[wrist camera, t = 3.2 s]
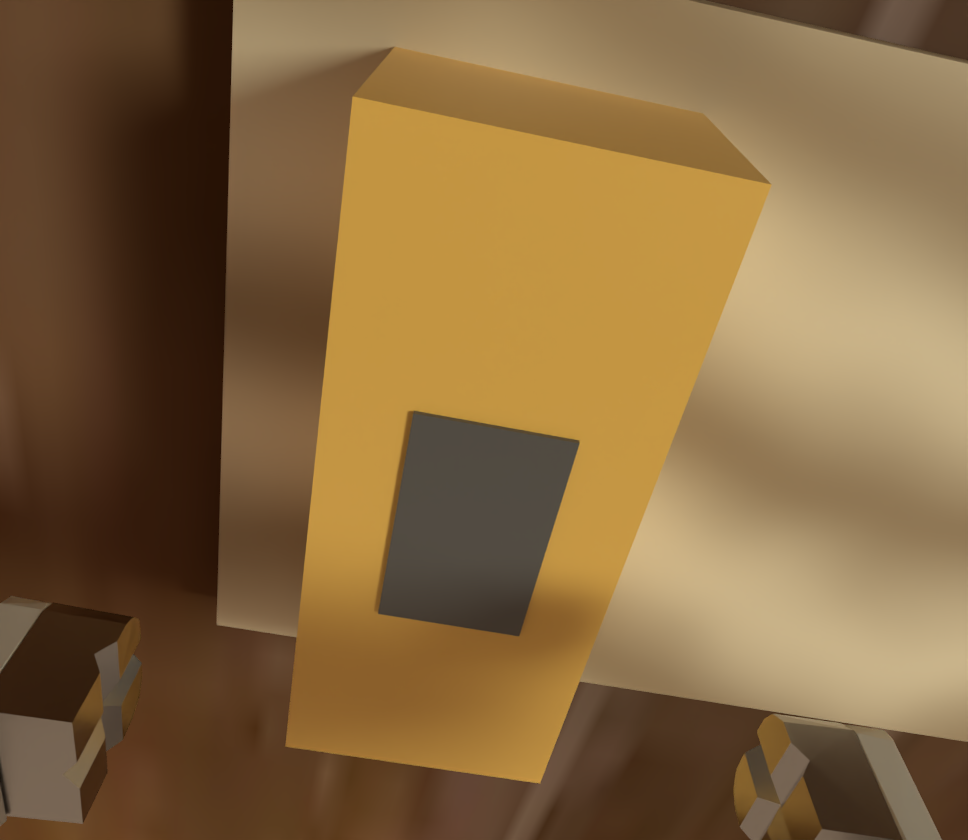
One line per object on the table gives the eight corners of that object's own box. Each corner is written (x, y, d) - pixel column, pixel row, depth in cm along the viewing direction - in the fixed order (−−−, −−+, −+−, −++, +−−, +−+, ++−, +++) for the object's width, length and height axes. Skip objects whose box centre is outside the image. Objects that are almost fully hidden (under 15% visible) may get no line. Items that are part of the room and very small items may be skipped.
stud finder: (395, 46, 13) (351, 98, 9) (703, 113, 13) (772, 186, 10) (325, 596, 19) (284, 750, 15) (534, 630, 19) (540, 787, 16)
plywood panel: (257, -103, 13) (235, -103, 12) (1694, 226, 15) (1782, 249, 14) (231, 589, 20) (216, 625, 19) (1167, 738, 23) (1198, 777, 22)
